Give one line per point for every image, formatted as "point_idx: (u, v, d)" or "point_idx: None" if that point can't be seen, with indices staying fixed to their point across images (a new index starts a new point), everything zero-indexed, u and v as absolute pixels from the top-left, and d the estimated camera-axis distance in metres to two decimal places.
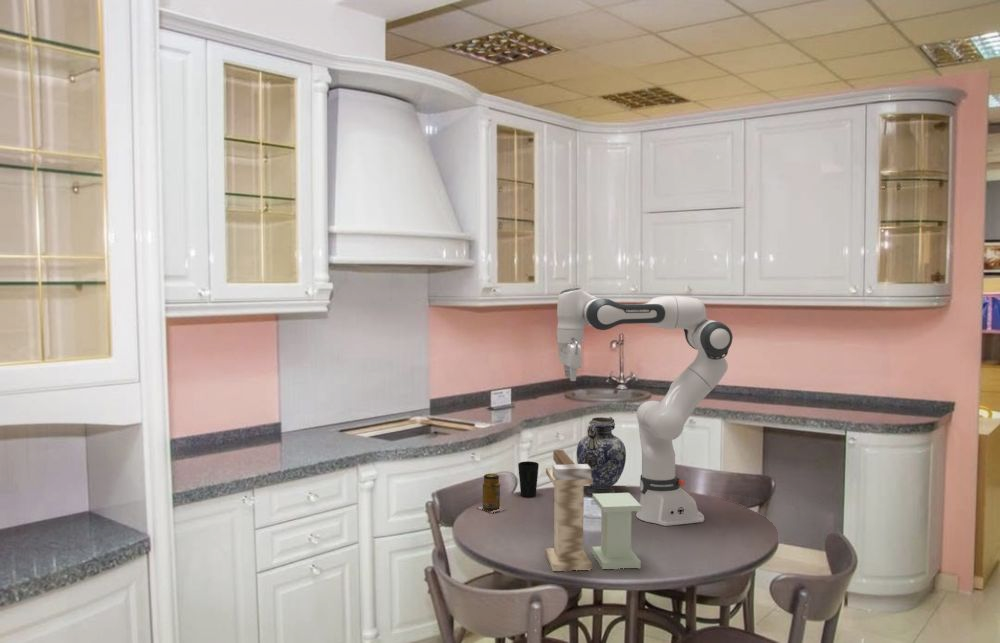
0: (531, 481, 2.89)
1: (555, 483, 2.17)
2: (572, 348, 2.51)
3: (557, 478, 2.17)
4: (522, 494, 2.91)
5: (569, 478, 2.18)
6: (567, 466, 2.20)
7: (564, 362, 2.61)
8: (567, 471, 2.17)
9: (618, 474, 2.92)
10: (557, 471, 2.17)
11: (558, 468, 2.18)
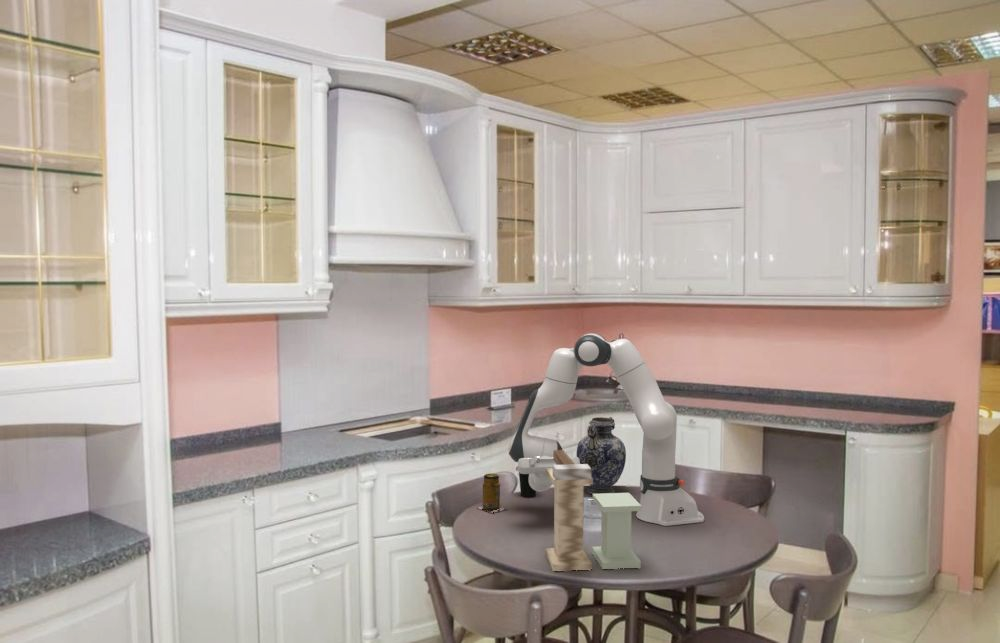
0: None
1: (555, 483, 2.17)
2: None
3: (557, 478, 2.17)
4: (522, 494, 2.91)
5: (569, 478, 2.18)
6: (567, 466, 2.20)
7: None
8: (567, 471, 2.17)
9: (618, 474, 2.92)
10: (557, 471, 2.17)
11: (558, 468, 2.18)
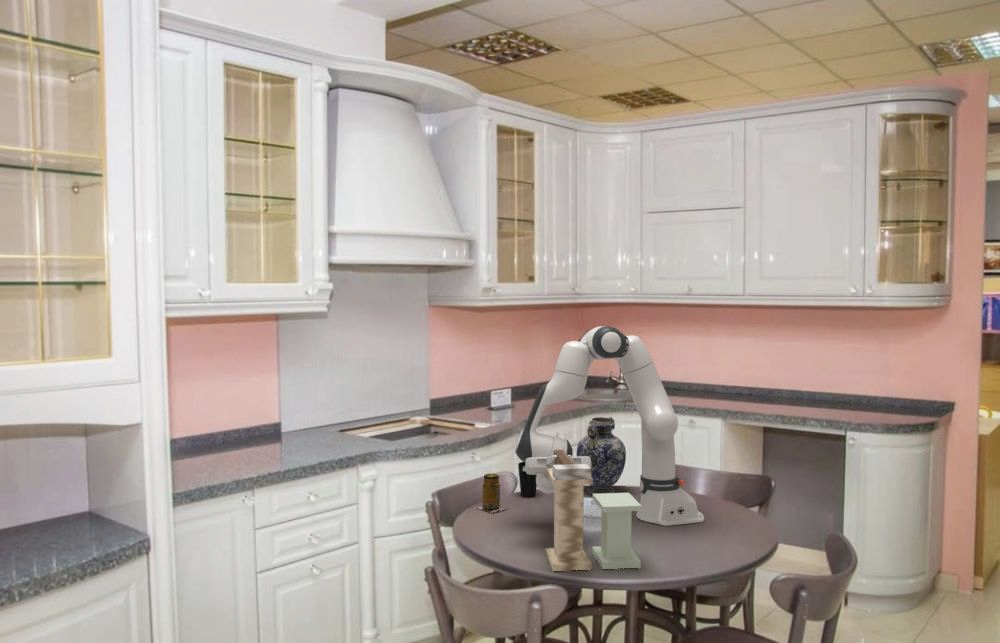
0: (531, 481, 2.89)
1: (555, 483, 2.17)
2: None
3: (557, 478, 2.17)
4: (522, 494, 2.91)
5: (569, 478, 2.18)
6: (567, 466, 2.20)
7: None
8: (567, 471, 2.17)
9: (618, 474, 2.92)
10: (557, 471, 2.17)
11: (558, 468, 2.18)
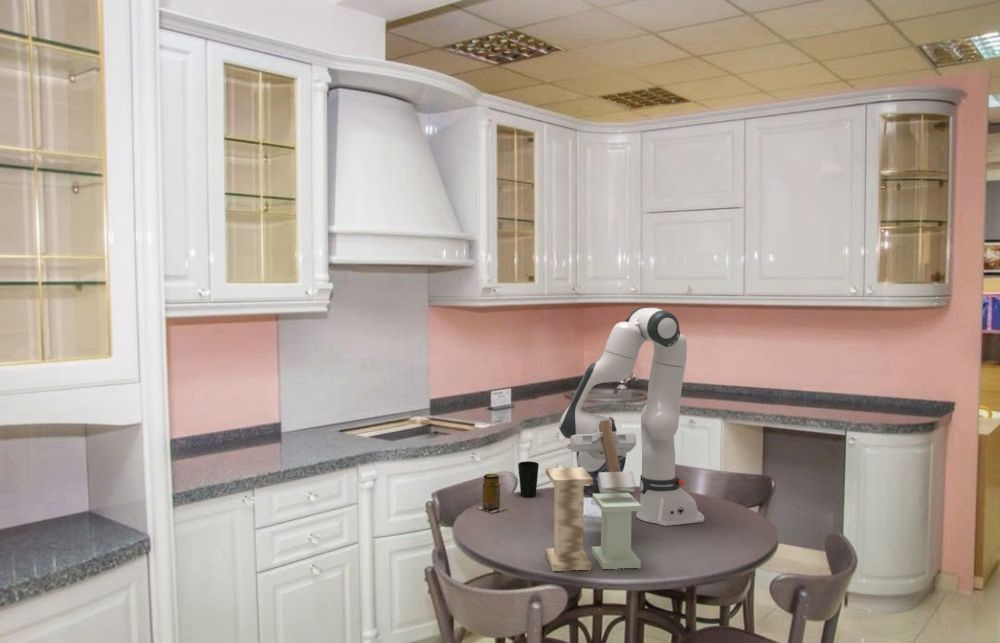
0: (531, 481, 2.89)
1: (555, 483, 2.17)
2: None
3: (601, 492, 2.25)
4: (522, 494, 2.91)
5: (613, 492, 2.26)
6: (613, 478, 2.26)
7: None
8: (612, 488, 2.24)
9: None
10: (602, 488, 2.24)
11: (604, 484, 2.24)
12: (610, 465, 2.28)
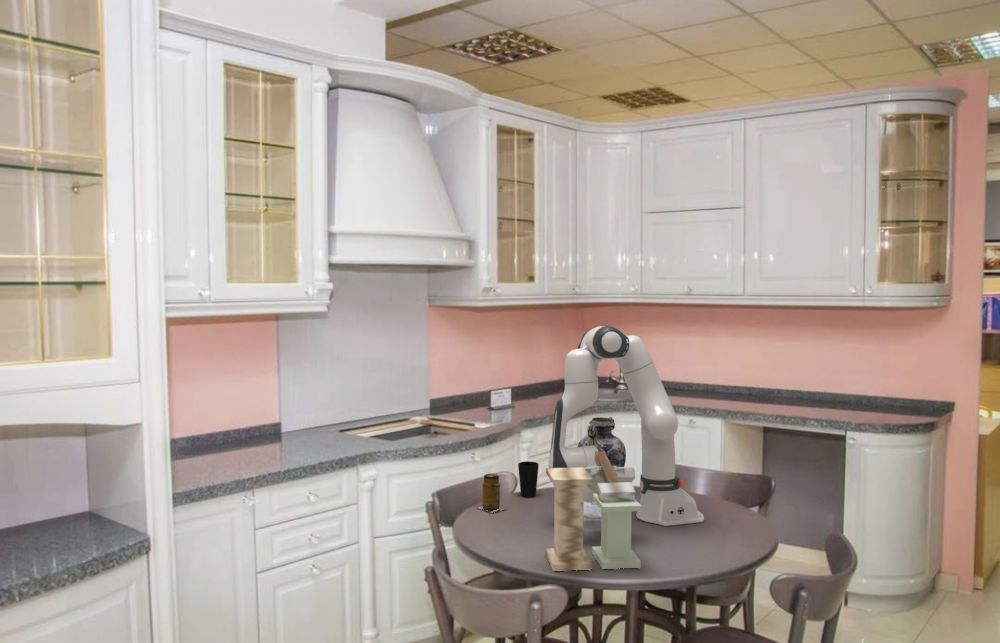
0: (531, 481, 2.89)
1: (555, 483, 2.17)
2: None
3: (602, 500, 2.24)
4: (522, 494, 2.91)
5: (613, 500, 2.24)
6: (612, 486, 2.26)
7: None
8: (612, 494, 2.24)
9: None
10: (602, 494, 2.23)
11: (603, 490, 2.24)
12: (608, 478, 2.30)
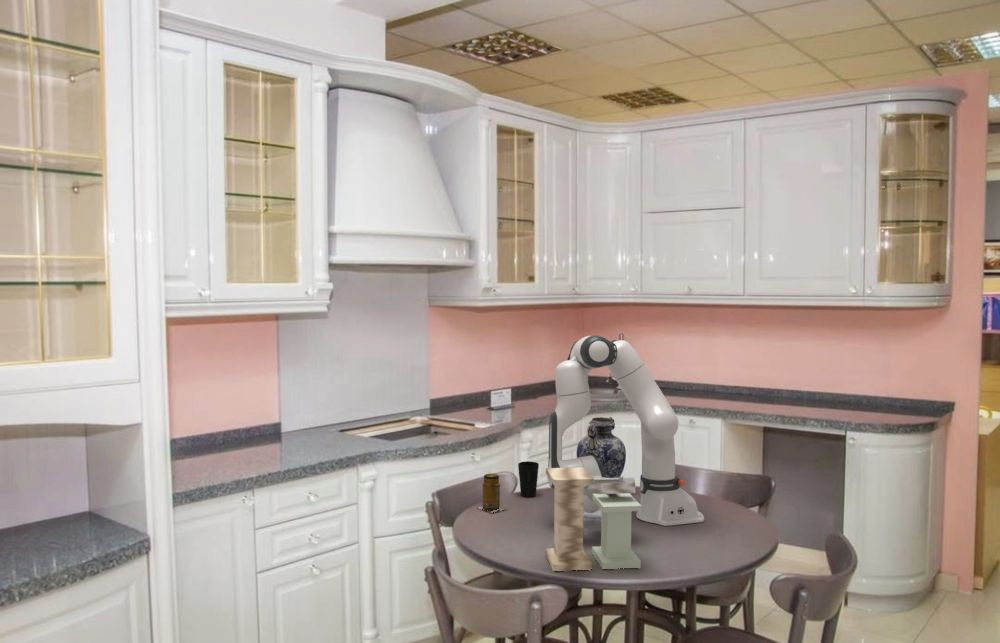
0: (531, 481, 2.89)
1: (555, 483, 2.17)
2: None
3: (602, 492, 2.24)
4: (522, 494, 2.91)
5: (614, 492, 2.24)
6: None
7: None
8: (611, 485, 2.24)
9: (618, 474, 2.92)
10: (602, 485, 2.24)
11: (603, 483, 2.25)
12: None
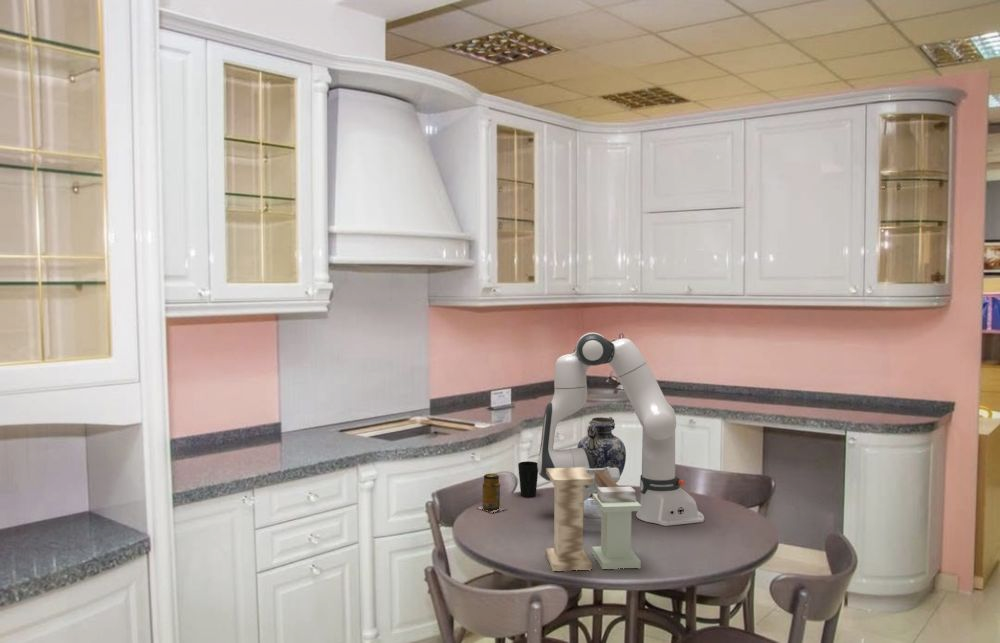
0: (531, 481, 2.89)
1: (555, 483, 2.17)
2: None
3: (603, 501, 2.23)
4: (522, 494, 2.91)
5: (614, 501, 2.24)
6: (612, 489, 2.26)
7: None
8: (612, 494, 2.24)
9: None
10: (603, 494, 2.23)
11: (603, 491, 2.24)
12: (608, 484, 2.31)
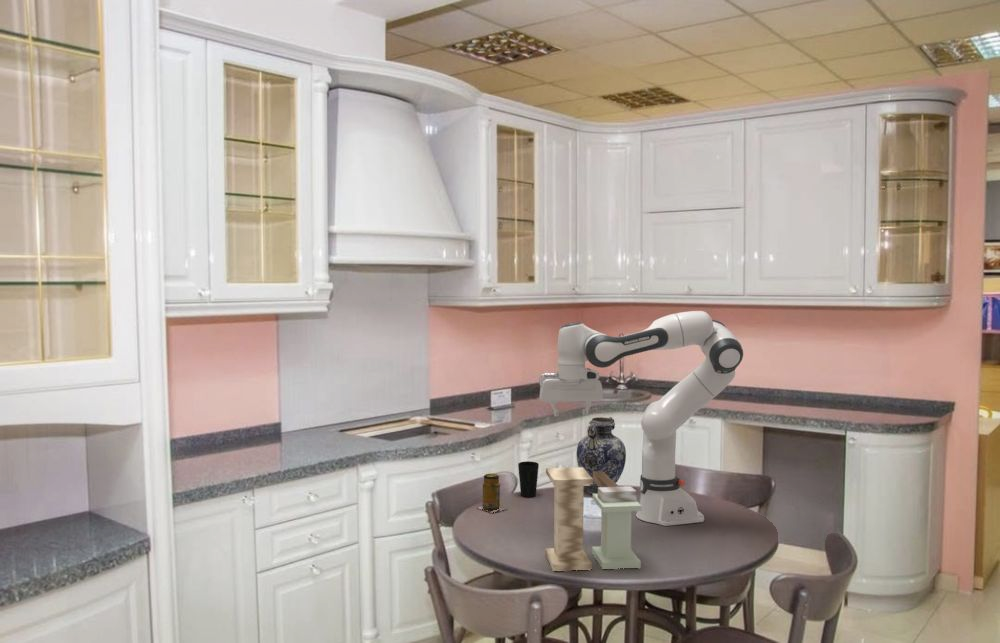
0: (531, 481, 2.89)
1: (555, 483, 2.17)
2: None
3: (604, 501, 2.23)
4: (522, 494, 2.91)
5: (615, 500, 2.24)
6: (612, 489, 2.26)
7: None
8: (613, 493, 2.24)
9: (618, 474, 2.92)
10: (604, 494, 2.23)
11: (604, 491, 2.24)
12: (608, 484, 2.31)
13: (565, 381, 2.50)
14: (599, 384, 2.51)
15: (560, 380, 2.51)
